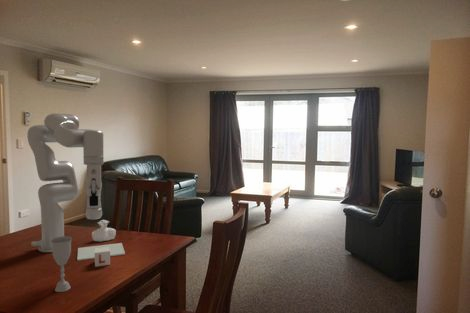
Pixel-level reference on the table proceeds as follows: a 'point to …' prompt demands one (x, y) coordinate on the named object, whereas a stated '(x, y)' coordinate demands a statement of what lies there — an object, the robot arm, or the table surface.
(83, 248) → the sage mat
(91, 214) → the metal bottle
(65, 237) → the chalice
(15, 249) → the table surface
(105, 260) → the lettered cube
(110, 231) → the bust
